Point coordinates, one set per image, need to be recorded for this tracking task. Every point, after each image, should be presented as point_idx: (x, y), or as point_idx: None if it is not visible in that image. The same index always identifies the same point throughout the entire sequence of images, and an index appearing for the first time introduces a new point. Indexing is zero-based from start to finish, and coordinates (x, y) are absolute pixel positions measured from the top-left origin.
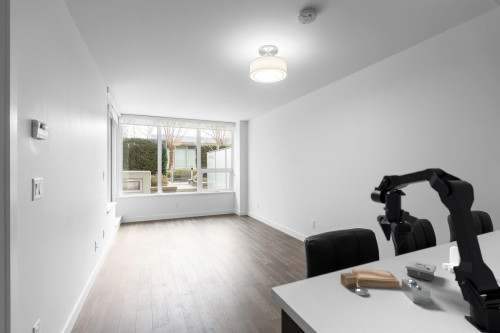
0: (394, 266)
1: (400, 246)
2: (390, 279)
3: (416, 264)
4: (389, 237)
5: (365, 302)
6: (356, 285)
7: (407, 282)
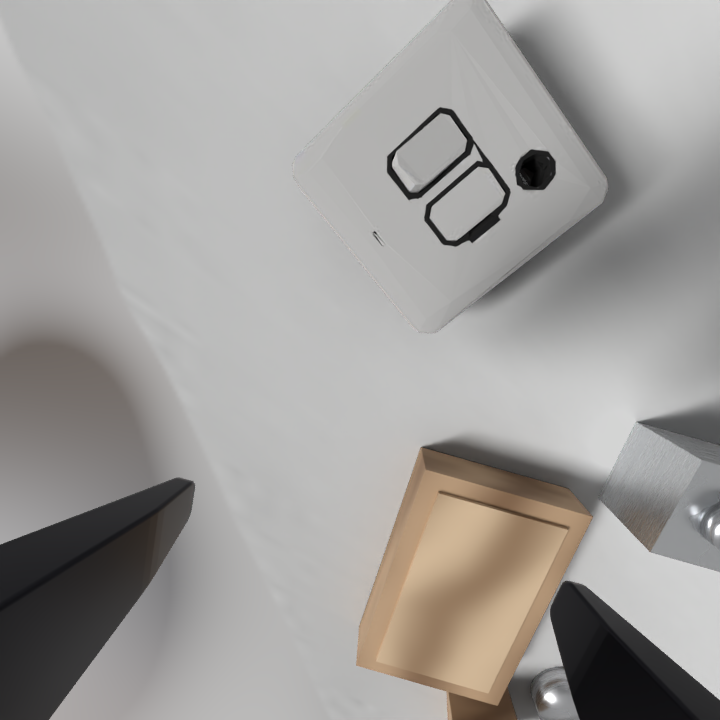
0: (251, 282)
1: (611, 612)
2: (554, 552)
3: (417, 202)
4: (156, 528)
5: None
6: (509, 695)
7: (709, 552)
